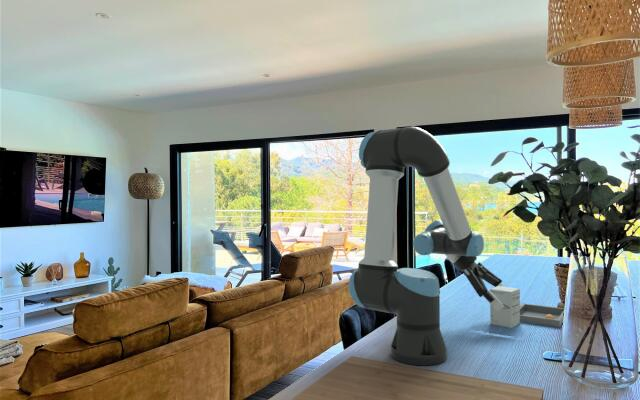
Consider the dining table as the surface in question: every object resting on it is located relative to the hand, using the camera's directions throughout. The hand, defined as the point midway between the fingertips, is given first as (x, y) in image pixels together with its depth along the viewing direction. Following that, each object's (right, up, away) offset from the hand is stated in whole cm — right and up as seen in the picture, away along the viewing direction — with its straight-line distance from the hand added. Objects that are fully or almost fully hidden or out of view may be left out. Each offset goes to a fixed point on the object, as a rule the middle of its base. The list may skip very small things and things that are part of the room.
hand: (506, 304), depth 151 cm
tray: (+14, -7, +7) cm, 17 cm away
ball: (+14, -6, -1) cm, 15 cm away
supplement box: (0, -7, 0) cm, 7 cm away
